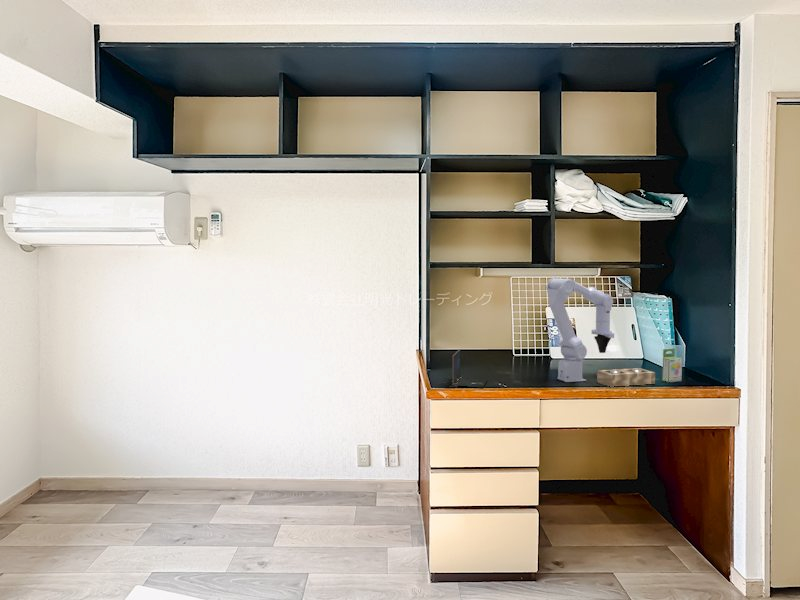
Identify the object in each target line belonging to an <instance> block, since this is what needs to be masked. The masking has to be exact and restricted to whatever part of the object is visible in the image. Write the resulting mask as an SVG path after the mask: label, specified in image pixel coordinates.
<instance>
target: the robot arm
mask: <svg viewBox="0 0 800 600" xmlns="http://www.w3.org/2000/svg"><path fill="white" fill-rule="evenodd" d="M545 290H546V291H547V294H548V305H549V308H550V310H551V312H552V315H553V317H554V320H555V323H556V326H557V328H558V331H559V334H560V337H561V341H560V343H559V345H560V353H561V355H562V356H563V359H560V360H559V361H558V365H557V366H558V368H557V378H556V379H558V380H559V381H563V382H565V383H572V382H573V383H574V382H575V383H577V382H587V379H586V378H583V361H584V360H585V358H586V356H587V352H588V349H587V347H586V346H585V344H583V341H582V340H581V339H580V338H579V337H577V336H576V334H575V331H574V328H573V325H572V322H571V320H570V317H569V314H568V312H567V309H566V306H565V302H566V301H567V300H568V299H569V297H570V295H571V294H572V293H573V292H575V293H577V294H579V295H581V296H582V298H583V299H584V300H585V301H588V302H590V303H592V304H593V306H595V329H591V335H595V336H594V337H593V338H594V340H595V342H596V344H597V348H598V351H599V353H600V354H603V353H606V351H607V347H608V345H609V343H610V340H611V339H614V338H615V333H614V332H613V331H612V330H610V328H611V311H612V306H613V304H614V299H613V297H612V295H611V294H609V293H604V291H603V290H598V289H597V288H596V287H595V286H588V287H585V286H584V285H582V284H581V283H579V282H577V281H576V280H574V279H571V278H556V277H552V278H550V279H549V280H548V282H547V284H546V287H545Z"/></svg>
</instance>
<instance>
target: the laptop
mask: <svg viewBox="0 0 800 600" xmlns="http://www.w3.org/2000/svg"><path fill="white" fill-rule="evenodd" d="M459 377H460V378H461V349H458V350H457V351H456V352H455V353H454V354H453V355H452V386H453V385H454V383H455V382H456V381H457V379H458V378H459ZM458 380H459V379H458Z"/></svg>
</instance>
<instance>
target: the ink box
mask: <svg viewBox="0 0 800 600" xmlns="http://www.w3.org/2000/svg"><path fill="white" fill-rule="evenodd" d="M662 351H663V352H662V374H661V376H662V377H661V381H662V382H665V381H666V382H665V383H669V382H670V383H675V382H682V377H683V375H682V372H683V367H682V366H683V365H682V364H683V358H682V357H680V356H675V355H676V354H675V353H676V352H675V351H676V348H664V349H662ZM668 352H671V353H668Z"/></svg>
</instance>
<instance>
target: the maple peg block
mask: <svg viewBox="0 0 800 600" xmlns="http://www.w3.org/2000/svg"><path fill="white" fill-rule="evenodd" d="M632 369H639V370H642V372H633V371H632ZM613 370H615V371H620V373H611V372H610V371H613ZM596 371H597V372H596V373H597V375H596V376H597V377H596V379H597V382H598V384H600V385H604V386H606V385H607V386H606V387H609V386H610V387H609V388H615V387H614V386H625V387H630V386H629V385H641V386H646V385H645V384H655V385H656V372H655V371H651V370H647V369H646V368H645V369H644V368H641V367H636V368H634V367H633V368H620V369H616V368H615V369H602V370H601V369H599V370H596Z"/></svg>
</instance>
